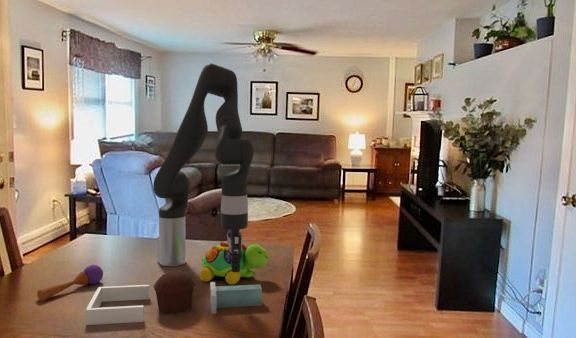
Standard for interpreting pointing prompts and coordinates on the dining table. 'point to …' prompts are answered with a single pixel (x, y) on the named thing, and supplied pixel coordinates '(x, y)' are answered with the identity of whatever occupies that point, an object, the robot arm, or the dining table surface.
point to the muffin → (174, 292)
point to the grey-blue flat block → (234, 296)
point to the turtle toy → (220, 265)
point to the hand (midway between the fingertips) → (234, 266)
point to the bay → (117, 313)
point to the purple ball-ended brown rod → (74, 282)
